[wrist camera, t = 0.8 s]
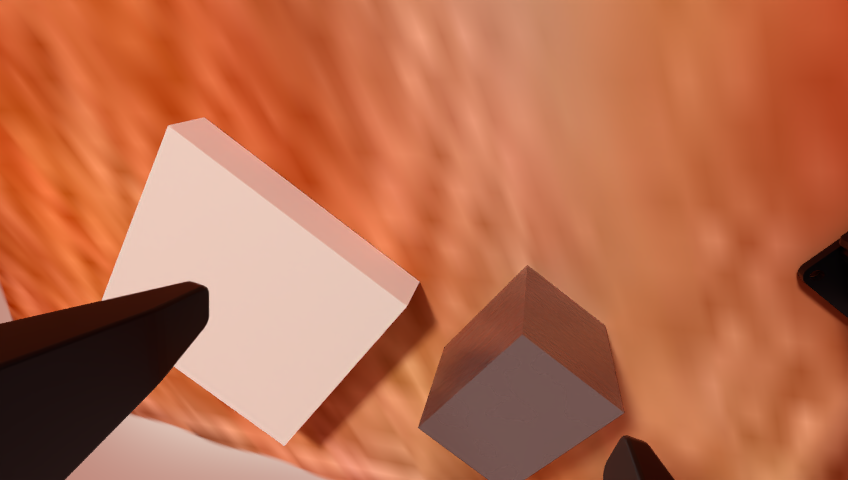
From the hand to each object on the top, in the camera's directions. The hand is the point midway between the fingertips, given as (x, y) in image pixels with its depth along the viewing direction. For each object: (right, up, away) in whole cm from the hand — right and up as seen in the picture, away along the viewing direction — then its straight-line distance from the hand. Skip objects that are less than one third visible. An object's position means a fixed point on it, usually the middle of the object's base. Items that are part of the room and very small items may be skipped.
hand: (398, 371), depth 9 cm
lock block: (+6, -2, +15) cm, 16 cm away
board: (-9, 0, +17) cm, 20 cm away
